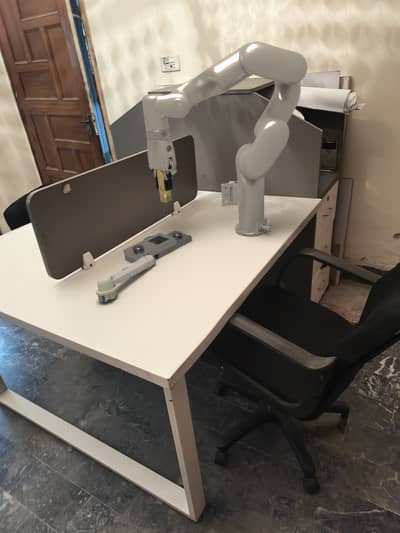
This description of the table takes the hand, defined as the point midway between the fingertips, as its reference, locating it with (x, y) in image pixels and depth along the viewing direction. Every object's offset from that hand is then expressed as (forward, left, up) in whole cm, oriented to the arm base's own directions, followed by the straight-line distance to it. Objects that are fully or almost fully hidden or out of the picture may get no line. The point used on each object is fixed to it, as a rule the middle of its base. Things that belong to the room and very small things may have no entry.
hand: (164, 188), depth 130 cm
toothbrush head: (-13, +30, -20) cm, 38 cm away
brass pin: (0, 0, -4) cm, 4 cm away
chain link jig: (-4, +9, -19) cm, 22 cm away
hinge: (0, -41, -20) cm, 46 cm away
